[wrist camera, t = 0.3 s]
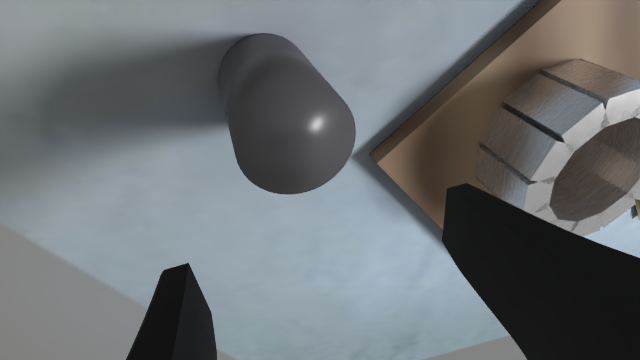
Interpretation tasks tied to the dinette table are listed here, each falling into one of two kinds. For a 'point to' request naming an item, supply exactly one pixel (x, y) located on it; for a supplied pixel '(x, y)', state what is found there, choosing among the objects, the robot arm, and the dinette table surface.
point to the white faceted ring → (566, 146)
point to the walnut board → (502, 91)
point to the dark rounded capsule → (283, 116)
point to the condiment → (637, 207)
